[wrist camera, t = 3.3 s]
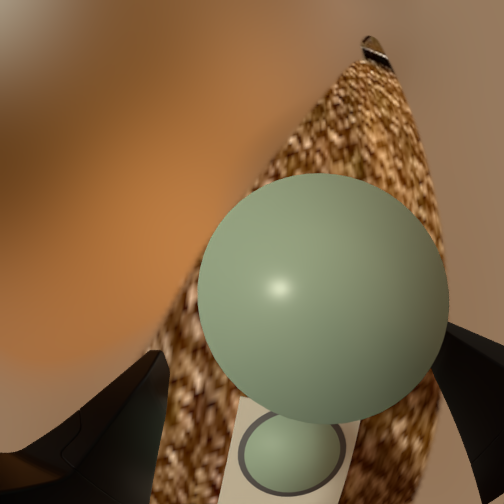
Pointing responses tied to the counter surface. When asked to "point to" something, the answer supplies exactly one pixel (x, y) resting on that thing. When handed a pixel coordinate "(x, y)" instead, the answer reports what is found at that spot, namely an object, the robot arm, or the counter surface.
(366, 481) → the counter surface
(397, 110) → the counter surface
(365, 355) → the ball
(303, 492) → the colouring card
